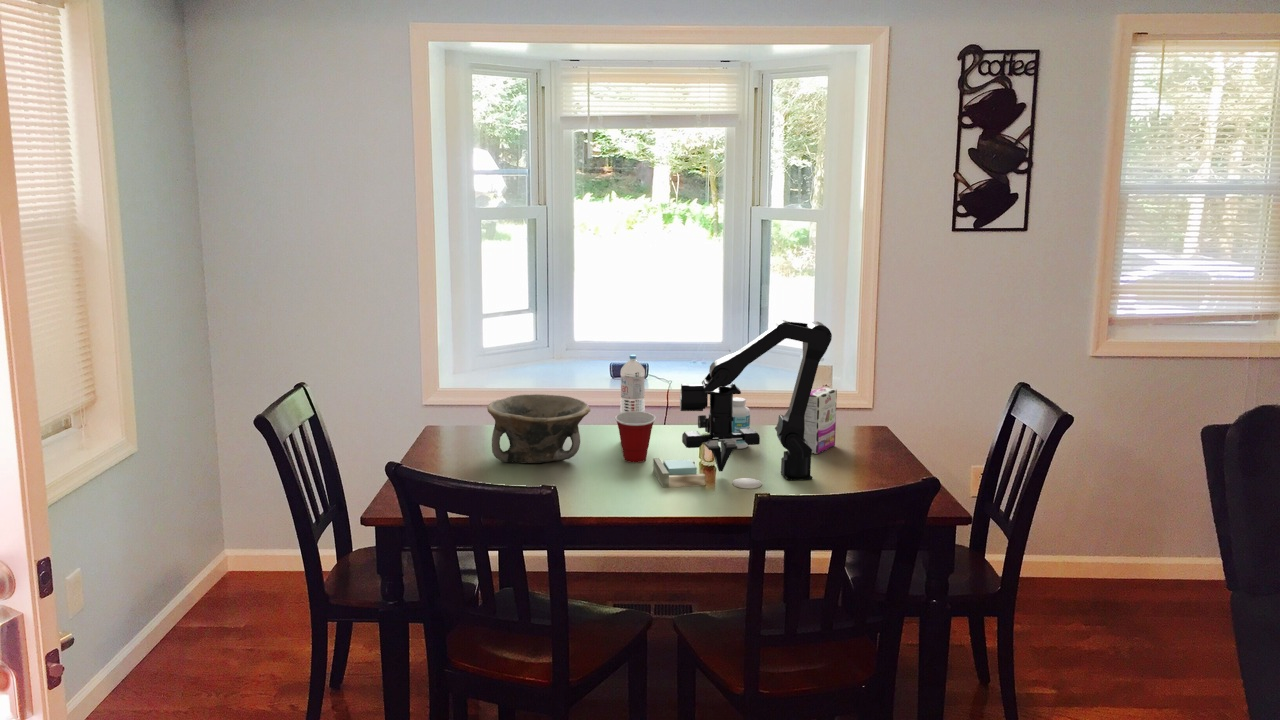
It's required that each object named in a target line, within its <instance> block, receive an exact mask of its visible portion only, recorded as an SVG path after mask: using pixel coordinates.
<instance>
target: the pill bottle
mask: <svg viewBox="0 0 1280 720" xmlns="http://www.w3.org/2000/svg"><path fill="white" fill-rule="evenodd" d="M746 404H747V403H746V398H743V397H737V396H736V397H734V396H733V424H732V433H739V430H740V429H751V428H750V426H751V410H750V408H749V407H747V406H746ZM736 446H737V449H736V450H741V449H745V448H747V447H749V445H748V444H747V443H746V442H745V440H744V441H736Z"/></svg>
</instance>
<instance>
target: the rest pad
mask: <svg viewBox="0 0 1280 720" xmlns="http://www.w3.org/2000/svg"><path fill="white" fill-rule="evenodd" d="M732 485H733V486H734V487H736V488H739V489H747V490H749V489H750V490H751V489H752V490H753V489H757V488H759V487H761V486H762V482H761V480H758V479H757V478H750V477H749V478H748V477H741V478H736V479H734V480H732Z"/></svg>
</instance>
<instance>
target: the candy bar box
mask: <svg viewBox="0 0 1280 720" xmlns="http://www.w3.org/2000/svg"><path fill="white" fill-rule="evenodd" d="M837 391H838V389H835V388H832V387H819V388H817V389H814V390H811V394H810V397H809V401H808V405H807V408H806V412H805V431H804V439H805V440H806V441H807V443H808V444H809V446H810V447H811V449H812V453H814V455H819V454H821V453H823V452H825V451H827V450H829V449H831V448H834V446H836V430H837V429H836V428H837V427H836V424H837V420H836V419H837V397H838V396H837V394H838V393H837ZM828 448H829V449H828ZM826 449H827V450H826ZM824 450H825V451H824ZM822 451H823V452H822ZM820 452H821V453H820ZM812 453H811V454H812ZM818 453H819V454H818Z"/></svg>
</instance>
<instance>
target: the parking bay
mask: <svg viewBox="0 0 1280 720" xmlns="http://www.w3.org/2000/svg"><path fill="white" fill-rule="evenodd" d="M652 460H653V463H652V467H653V468H652V471H653V473H654V475H655V477H656V478H657V480H658V481H659V483H660V485H661V487H662V488H675V487H680V488H681V487H698V486H699V487H700V486H706V475H705V473H697V474H686V475H669V472H668V471H667V469H666V468H665V466H664V460H663V461H662V459H661V458H660V457H653V458H652ZM691 461H692V462H693V463H694V465H695V466H696V464H695V460H694V459H691Z"/></svg>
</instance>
